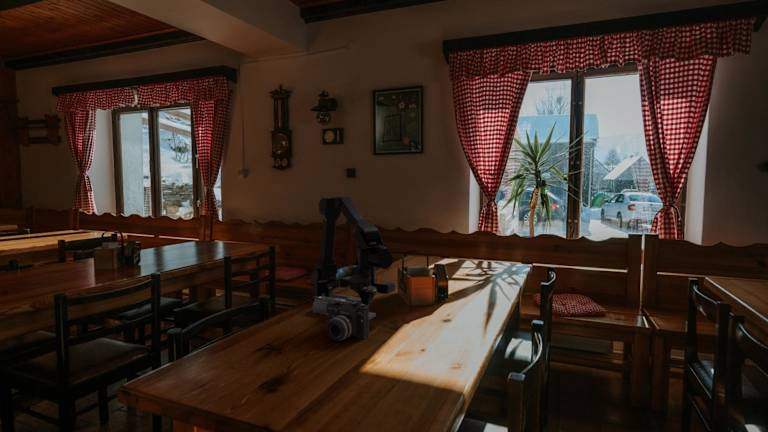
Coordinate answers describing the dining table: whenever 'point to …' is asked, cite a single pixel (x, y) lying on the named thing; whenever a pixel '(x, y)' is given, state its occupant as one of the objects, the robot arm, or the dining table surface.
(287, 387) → the dining table surface
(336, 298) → the light grey flat bar
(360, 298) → the clip
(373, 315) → the clip rail
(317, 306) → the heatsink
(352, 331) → the camera
